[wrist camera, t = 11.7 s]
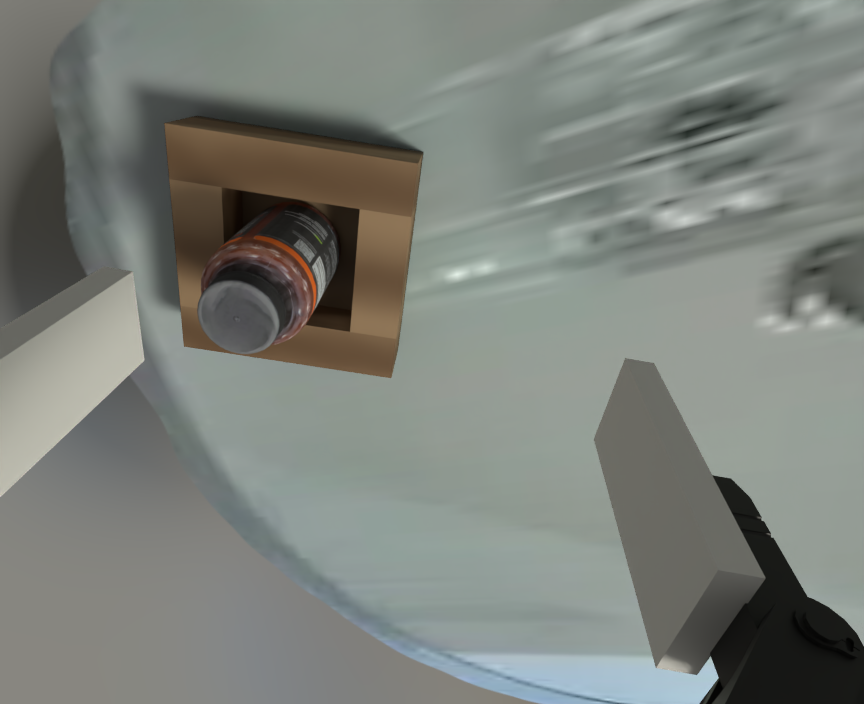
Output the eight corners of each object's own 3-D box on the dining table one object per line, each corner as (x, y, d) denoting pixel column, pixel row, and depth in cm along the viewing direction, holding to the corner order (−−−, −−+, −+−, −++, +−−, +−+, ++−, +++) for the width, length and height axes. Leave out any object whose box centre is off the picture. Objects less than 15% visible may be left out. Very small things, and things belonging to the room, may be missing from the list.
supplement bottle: (245, 268, 37) (165, 348, 27) (264, 184, 34) (181, 240, 24) (330, 299, 38) (281, 387, 28) (354, 219, 35) (310, 286, 25)
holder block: (196, 115, 33) (164, 123, 30) (423, 152, 34) (418, 163, 30) (208, 320, 40) (183, 346, 37) (397, 349, 40) (391, 378, 37)
